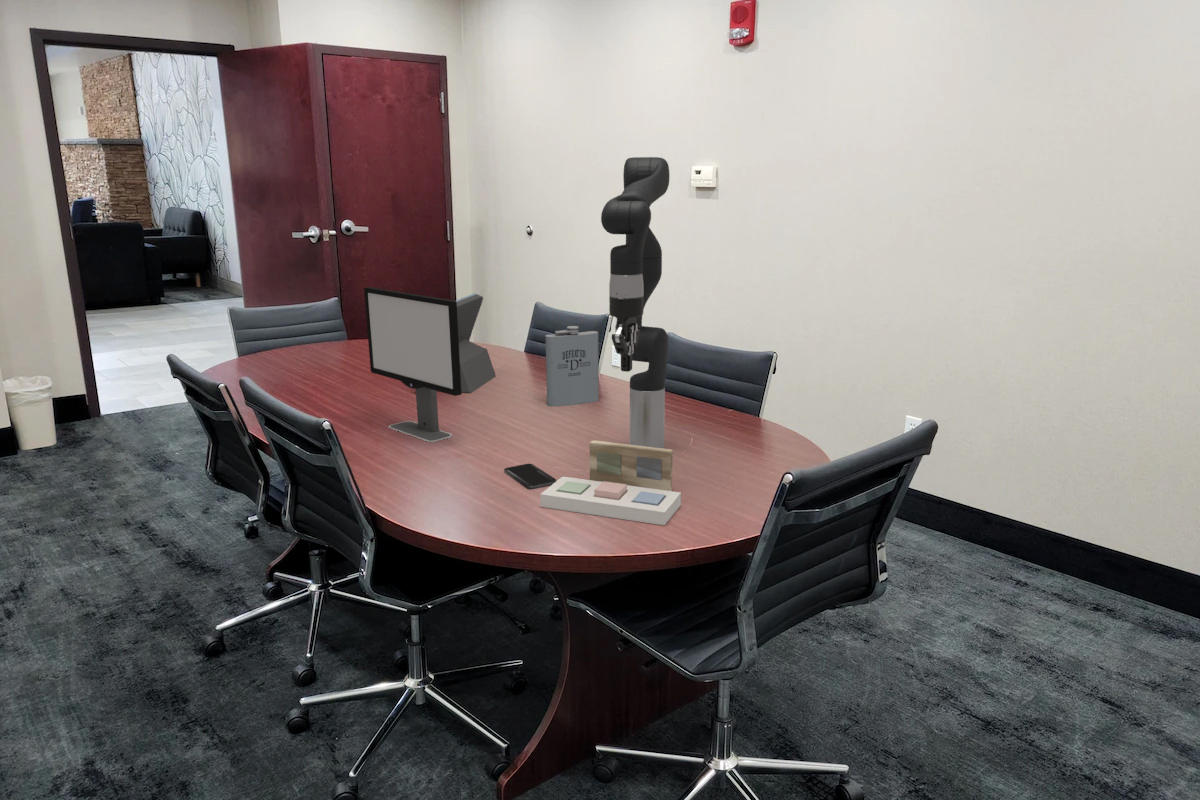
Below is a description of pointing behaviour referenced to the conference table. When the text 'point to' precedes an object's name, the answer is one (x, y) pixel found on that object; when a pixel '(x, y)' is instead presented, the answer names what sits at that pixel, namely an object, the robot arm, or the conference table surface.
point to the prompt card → (631, 465)
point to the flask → (572, 367)
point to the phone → (530, 476)
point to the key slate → (649, 498)
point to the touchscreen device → (471, 347)
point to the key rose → (610, 490)
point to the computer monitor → (415, 351)
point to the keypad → (611, 502)
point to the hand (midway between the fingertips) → (626, 370)
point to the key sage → (573, 487)
